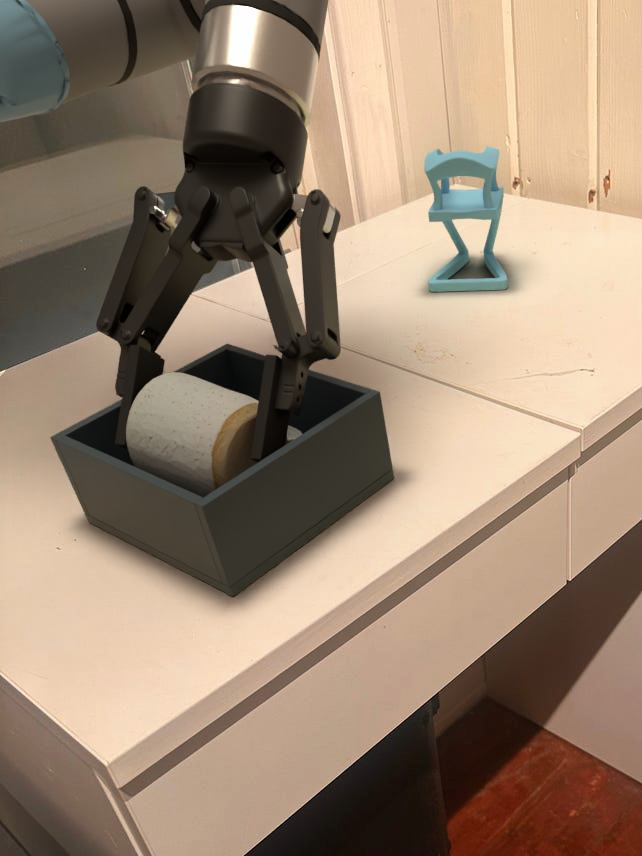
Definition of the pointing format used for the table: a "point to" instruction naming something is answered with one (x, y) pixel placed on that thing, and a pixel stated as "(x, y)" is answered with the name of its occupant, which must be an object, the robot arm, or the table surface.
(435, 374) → the table surface
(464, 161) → the chair
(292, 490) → the tub
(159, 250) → the robot arm
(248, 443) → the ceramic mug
